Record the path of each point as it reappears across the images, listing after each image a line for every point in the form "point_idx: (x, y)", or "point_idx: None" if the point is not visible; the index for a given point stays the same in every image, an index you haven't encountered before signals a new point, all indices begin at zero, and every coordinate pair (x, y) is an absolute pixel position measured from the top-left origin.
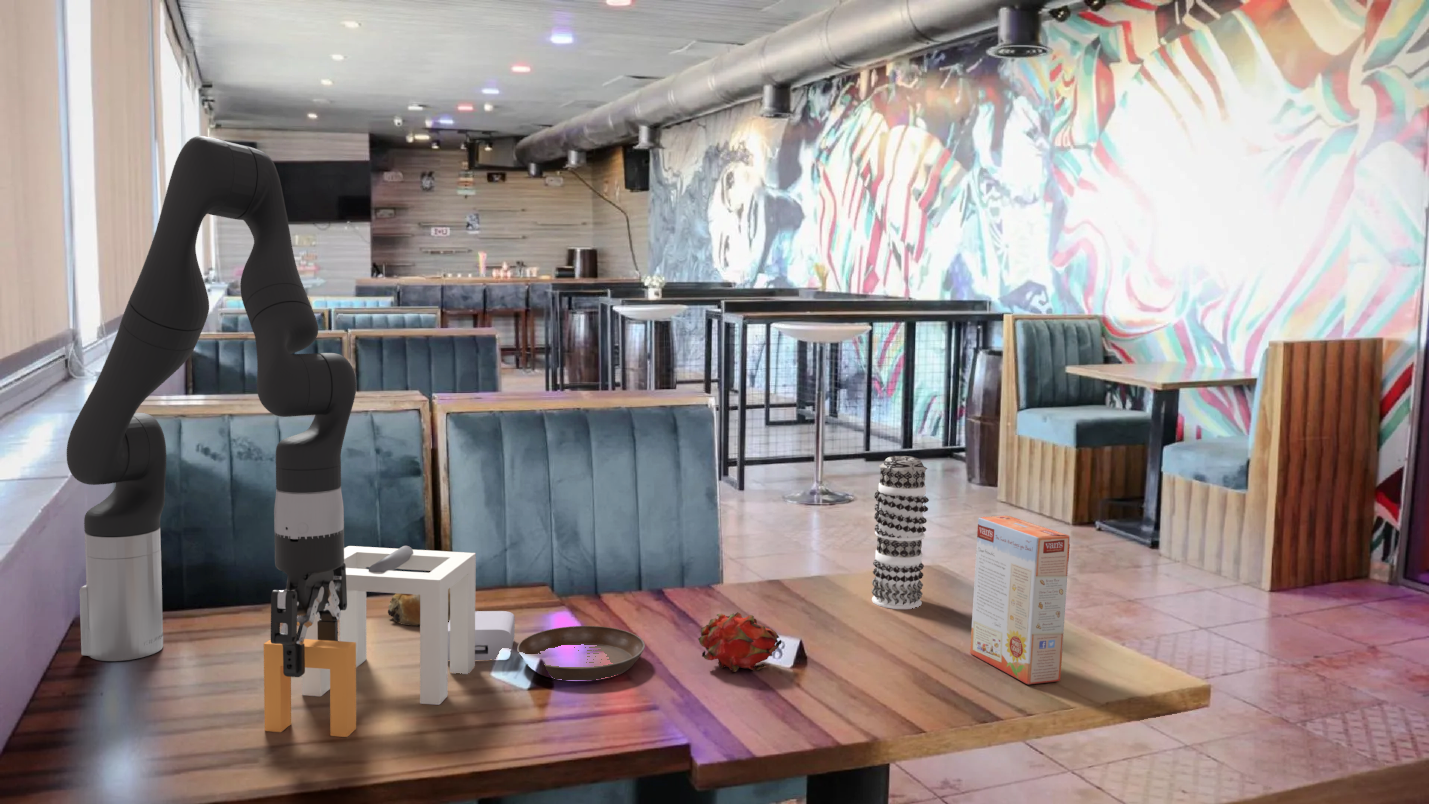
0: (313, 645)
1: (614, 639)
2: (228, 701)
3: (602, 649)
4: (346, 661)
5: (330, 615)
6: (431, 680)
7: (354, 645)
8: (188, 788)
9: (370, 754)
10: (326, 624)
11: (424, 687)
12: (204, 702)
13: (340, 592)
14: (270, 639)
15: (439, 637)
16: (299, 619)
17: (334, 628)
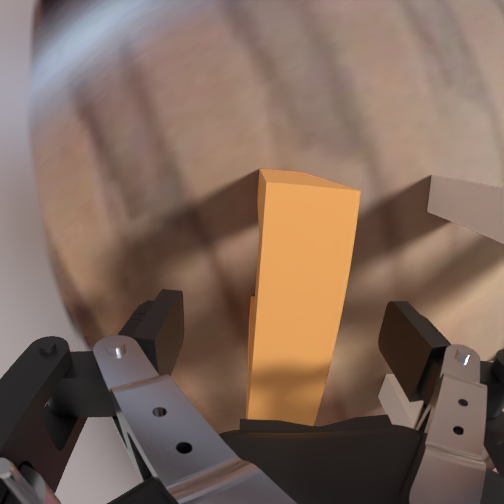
0: (268, 371)
1: (489, 462)
2: (389, 51)
3: (482, 456)
4: None
5: (429, 401)
6: (393, 411)
7: None
8: (44, 163)
9: (192, 369)
10: (416, 371)
11: (393, 395)
12: (376, 15)
13: (494, 451)
14: (326, 188)
15: None
16: (132, 458)
17: (401, 387)
